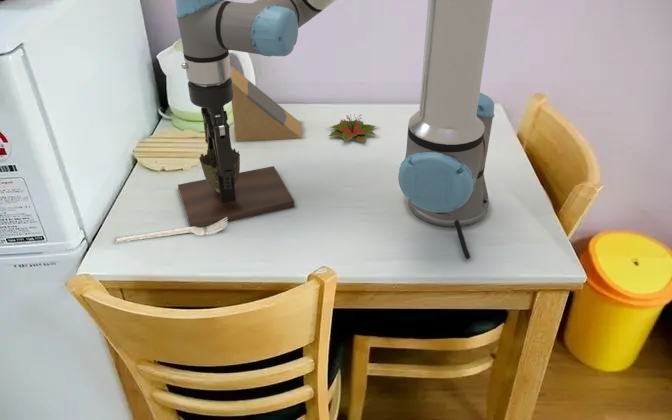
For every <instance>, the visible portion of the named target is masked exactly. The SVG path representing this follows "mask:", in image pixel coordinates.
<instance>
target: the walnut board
mask: <svg viewBox="0 0 672 420" xmlns="http://www.w3.org/2000/svg"><path fill="white" fill-rule="evenodd" d="M234 187H235V195H236V201H231V202H226V203H222V202H221V196H220V195H219V194H217V193H216V191H215V189H214V187H212V186H210V185H209V183H208V182H207V180H206V178H204V179H200V180H195V181H190V182H184V183H179V184H177V188H178V192H179V196H180V199H181V202H182V206H183V209H184V212H185V216H186V219H187V222H188V225H189V227H192V226H195V227H199V228H201V227H203V228H207V227H206V226H209V227H211V226H210V225H212V224H215V223H217V222H218V221H220V220H222V219H224V218H226V217H227V218H226V219H228V220H227V221H228V222H233V221H237V220H242V219H247V218H252V217H257V216H260V215H261V216H262V215H265V214H269V213H270V214H271V213H275V212H279V211H283V210H288V209H289V210H290V209H292V208H293V209H294V208H295V200H294V198H293V197H292V195H291V193H290V191H289V190H288V188H287V186H286V185H285V182H284V181H283V179H282V178H281V176H280V174H279V172H278V171H277V169H276V167H275V166H274V165H273V166H266V167H262V168H256V169H252V170H246V171H242V172H241V171H240V172H239V178H238V181H237V182H236V184H235V185H234ZM226 219H225V220H226ZM225 220H224V221H225ZM227 221H225V222H227ZM222 222H223V221H222ZM225 222H224V223H225ZM228 222H227V223H228Z"/></svg>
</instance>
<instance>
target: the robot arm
mask: <svg viewBox="0 0 672 420" xmlns="http://www.w3.org/2000/svg"><path fill="white" fill-rule="evenodd" d="M336 1H337V0H254V1H253V2H250V3H249V2H238V1H237V2H236V1H233V0H232V1H230V0H175V7H176V19H177V24H178V29H179V34H180V37H181V38H180V39H181V46H182V54H183V59H184V62H182V63H181V64H180V66H181V69H183V70H185V73H186V79H187V80H188V82H187V88H188V96H189V100H190V102H191V104H192V105H194V106H196V107H198V108H200V113H201V116H202V121H203V122H202V123H203V129H204V138H205V139H204V141H205V143H206V144H207V150H208V149H211V150H212V149H213V148H214V150H215V155H216V161H217V166H218V172H214V173H215V176H218V182H219V189H220V196H221V202H222V203H226V202H231V201H236V195H235V187H234V179H233V175H235V170H234V163H233V156H232V149H233V148H232V142H231V135H230V133H231V132H230V125H229V123H228V119H229V117H228V113H227V110H225V108H224V107H225V106H226V105H228V104H230V103H232V99H233V86H232V79H231V78H230V76H231V67H232V65H231V56H230V52H229V51H234V52H241V53H249V54H255V55H260V56H264V57H287V56H288V55H289V56H290V54H291V53H292V52H293V51H294V47H295V46H296V44H297V42H298V36H299V28H301V27H303V26H304V25H305V24H307V23H308V22H309V21H311V20H312V19H314V18H315V17H316V16H317V15H319V14H320V13H321V12H322V11H324V10H325V9H327V8H328V7H329V6H330V5H332V4H333V3H334V2H336ZM492 7H493V0H427V13H426V22H425V23H426V24H425V37H424V48H423V59H422V60H423V61H422V72H421V73H422V74H421V86H420V98H419V110H417V112H415V113H414V114H412V115H411V116H410V118H409V120H408V124H407V137H406V150H405V156H404V159H403V161H402V162H401V163H400V166H399V171H398V178H397V180H398V186H399V188H400V190H401V192H402V194H403V196H404V197H406V199H407V204H408V208H409V210H410V211H411V212H412V214H414V215H415V216H416V217H417V218H418V219H420V220H422V221H424V222H426V223H428V224H431V225H434V226H438V227H443V228H455V229H456V234H457V237H458V241H459V244H460V247H461V250H462V252H463V256H464V258H465V259H466V260H469V259H470V258H471V255H470V252H469V249H468V247H467V244H466V243H467V242H466V241H465V236H464V232H463V230H462V228H464V227H470V226H473V225H475V224H477V223H479V222H481V221H482V220H483V219H484V218H485V217H486V216H487V213H488V209H489V204H490V201H489V200H490V199H489V193H488V189H487V184H486V179H485V168H486V161H487V155H488V151H489V143H490V137H491V131H492V126H493V119H494V118H495V116H496V115H495V102H494V100H493V99H492V98H491V97H490V96H489V95H487V94H484V93H483V92H481V85H482V77H483V72H484V64H485V57H486V49H487V44H488V36H489V30H490V29H489V28H490V21H491V15H492ZM231 148H232V149H231Z"/></svg>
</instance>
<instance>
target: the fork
mask: <svg viewBox="0 0 672 420" xmlns="http://www.w3.org/2000/svg"><path fill="white" fill-rule="evenodd" d="M226 218H227V217H226ZM226 218H224V219H222V220H220V221H218V222H217V223H215V224H212V225H210V226H206V227H205V230H204V227H201V228H199V227H195V226H192V227H190V226H186V227H180V228H174V229H167V230H161V231H155V232H149V233H142V234H136V235H130V236H123V237H117V238H116V241H115V243H116V244H117V243H126V242H131V241H138V240H139V241H140V240H146V239H153V238H154V239H155V238H161V237H168V236H169V237H170V236H174V235H175V236H176V235H182V234H189V233H192V234H194V235H196V236H204V235H205V234H206V235H214V234H217V233H218V232H219V233H220V231H222V230H223V229H225V228H226V227H227V226H228V225H229V223H228V221H227V220H228V219H226ZM225 219H226V220H225ZM224 220H225V221H227V222H225V221H224ZM222 221H223V222H222Z"/></svg>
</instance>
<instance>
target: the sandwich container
mask: <svg viewBox="0 0 672 420" xmlns="http://www.w3.org/2000/svg"><path fill="white" fill-rule="evenodd" d="M230 78H231V79H232V86H233V99H232V101H231V110H232V117H233V118H232V119H233V126H234V134H235V142H251V141H252V142H253V141H254V142H255V141H272V140H275V141H276V140H290V139H302V138H303V134H302V133H303V132H302V131H303V130H302V129H303V128H302V125H301V121H300V120H298V119H297V118H296V117H295V116H293V115H292V114H291V113H289V112H288V111H287V110H286V109H284V108H283V107H282V106H280V105H279V104H278V103H277V102H276V101H274V100H273V99H272V98H271V97H270V96H268V95H267V94H266V93H265V92H264V91H262V90H261V89H260V88H259V87H258V86H256V85H255V84H254V83H252V81H250V80H249V79H248V78H247V77H245V76H244V75H243V74H242V73H241V72H240V71H239V70H237V69H236V68H235V67H234V66H231V76H230Z"/></svg>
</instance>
